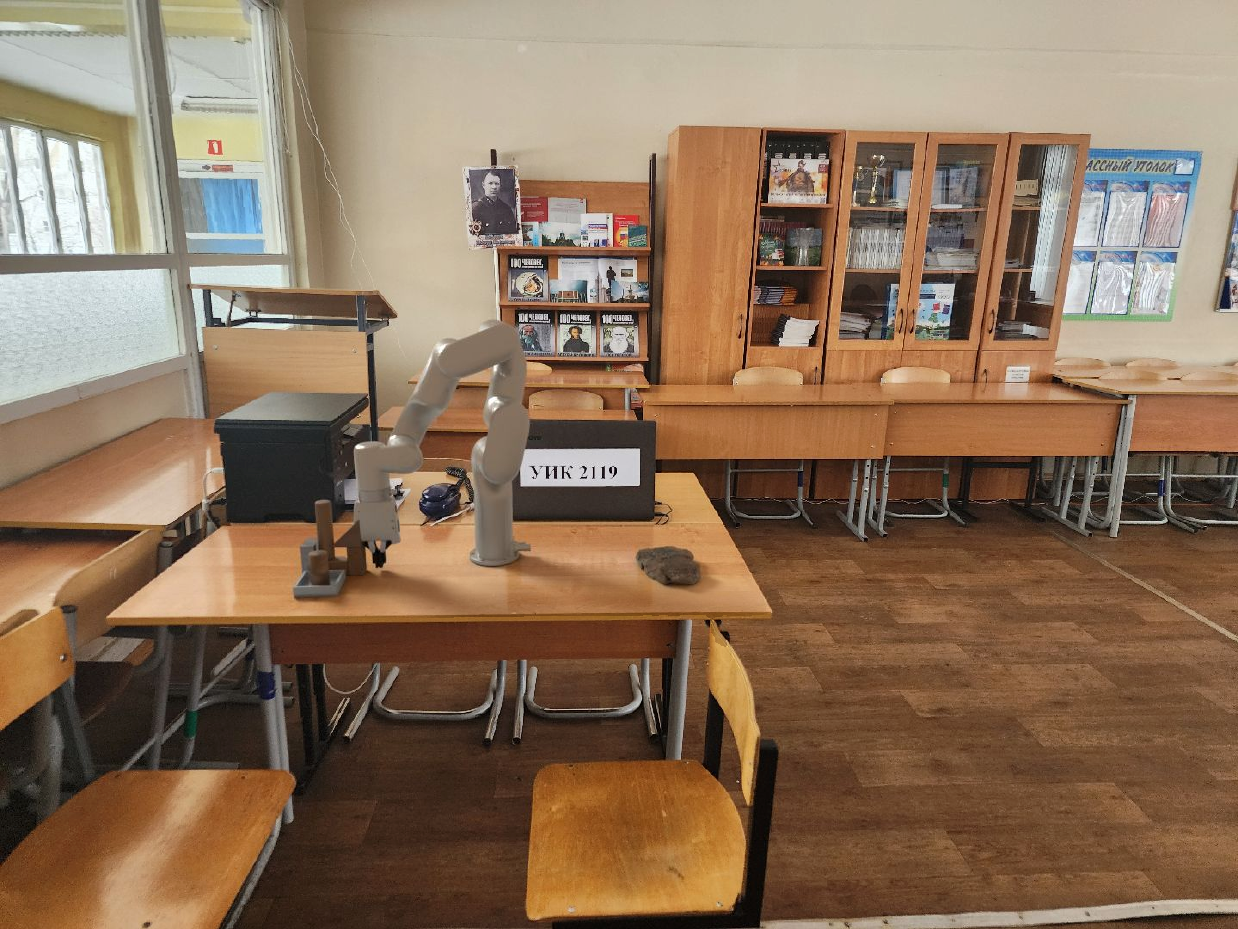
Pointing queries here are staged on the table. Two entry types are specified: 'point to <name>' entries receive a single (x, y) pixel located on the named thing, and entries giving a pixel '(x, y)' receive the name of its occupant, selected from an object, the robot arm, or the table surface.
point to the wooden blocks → (340, 542)
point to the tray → (307, 590)
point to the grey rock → (669, 565)
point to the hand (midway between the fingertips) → (379, 565)
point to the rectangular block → (307, 551)
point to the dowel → (319, 568)
